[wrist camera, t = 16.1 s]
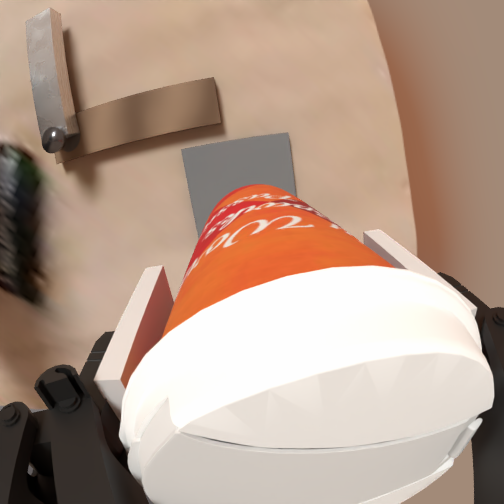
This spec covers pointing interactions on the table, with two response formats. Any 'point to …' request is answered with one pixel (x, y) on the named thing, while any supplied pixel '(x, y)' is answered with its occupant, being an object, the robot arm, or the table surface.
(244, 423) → the coffee cup
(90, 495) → the robot arm
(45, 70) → the bar
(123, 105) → the base
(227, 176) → the slate pad
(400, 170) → the table surface
